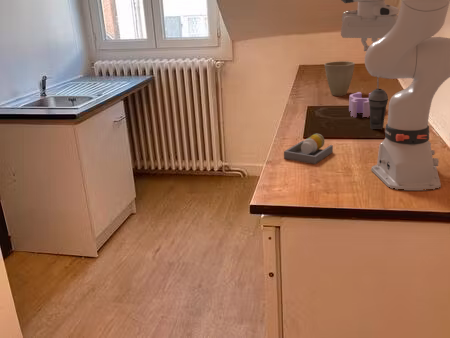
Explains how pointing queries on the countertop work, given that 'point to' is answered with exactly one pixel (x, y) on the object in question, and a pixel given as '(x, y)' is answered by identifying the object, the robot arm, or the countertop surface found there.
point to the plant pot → (339, 76)
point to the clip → (359, 105)
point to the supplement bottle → (312, 144)
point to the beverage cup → (377, 107)
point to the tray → (298, 155)
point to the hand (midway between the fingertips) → (368, 51)
